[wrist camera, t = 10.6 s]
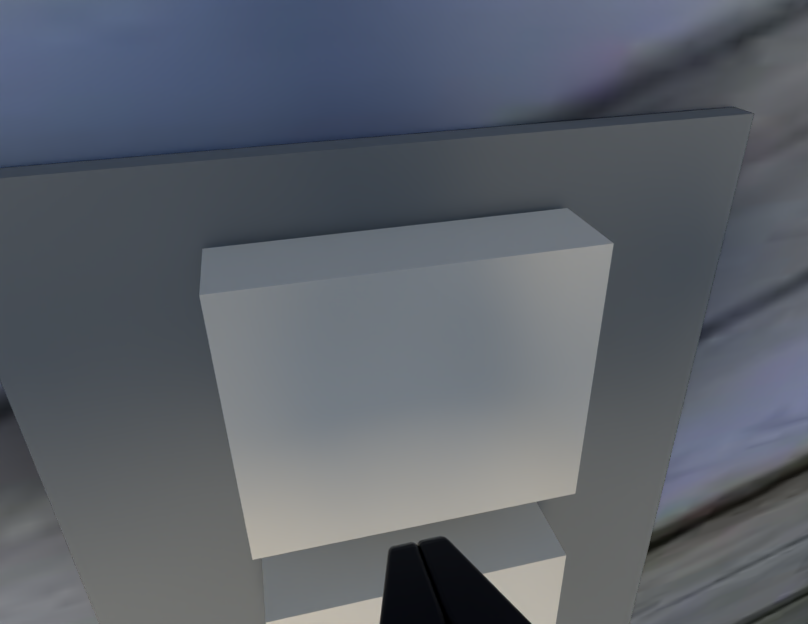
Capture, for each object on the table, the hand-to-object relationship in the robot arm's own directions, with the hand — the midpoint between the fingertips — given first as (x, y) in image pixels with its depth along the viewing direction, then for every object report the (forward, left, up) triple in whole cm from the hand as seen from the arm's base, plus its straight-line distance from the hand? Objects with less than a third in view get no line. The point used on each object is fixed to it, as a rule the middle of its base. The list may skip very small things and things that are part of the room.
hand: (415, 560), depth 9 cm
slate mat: (-1, +4, -6) cm, 7 cm away
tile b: (+3, 0, -4) cm, 5 cm away
